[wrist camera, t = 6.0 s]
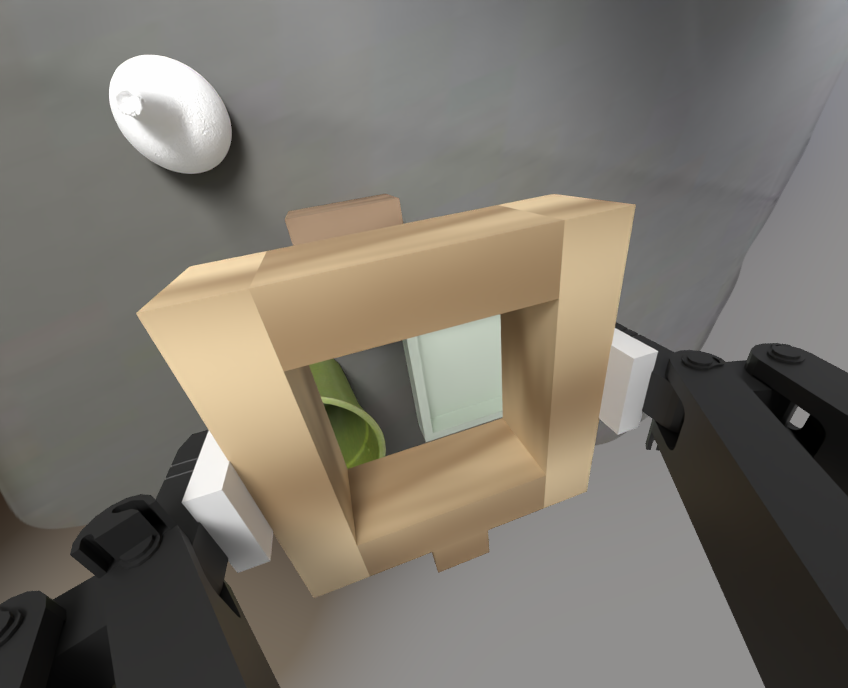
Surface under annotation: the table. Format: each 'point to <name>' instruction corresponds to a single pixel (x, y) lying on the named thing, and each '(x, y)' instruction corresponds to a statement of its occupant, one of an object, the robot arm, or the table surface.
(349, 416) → the plant pot
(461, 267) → the wooden frame with peg
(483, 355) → the tray
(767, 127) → the table surface
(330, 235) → the wooden block
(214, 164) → the garlic bulb
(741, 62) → the table surface
